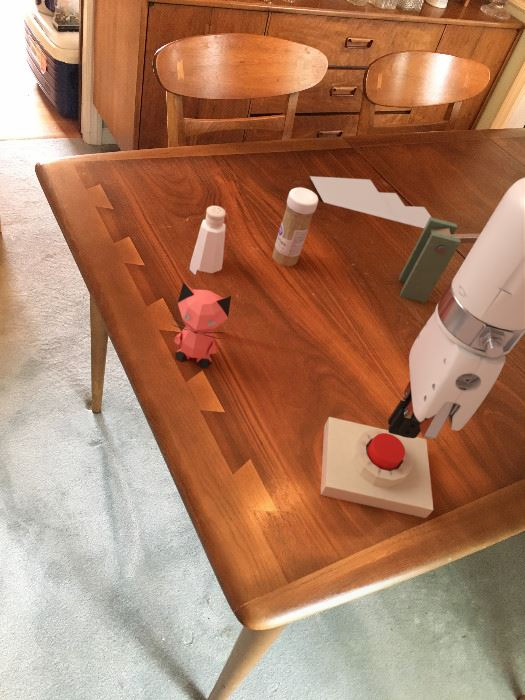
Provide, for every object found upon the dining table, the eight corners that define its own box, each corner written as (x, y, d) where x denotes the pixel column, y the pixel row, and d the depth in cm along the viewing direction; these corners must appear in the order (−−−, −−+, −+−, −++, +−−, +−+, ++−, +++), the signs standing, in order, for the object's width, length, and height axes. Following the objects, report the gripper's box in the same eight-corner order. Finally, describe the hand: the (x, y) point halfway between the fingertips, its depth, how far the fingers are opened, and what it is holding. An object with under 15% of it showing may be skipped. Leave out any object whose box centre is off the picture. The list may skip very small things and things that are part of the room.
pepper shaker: (212, 285, 85) (224, 226, 77) (182, 270, 86) (190, 210, 78) (228, 267, 89) (241, 209, 81) (199, 253, 90) (209, 194, 82)
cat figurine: (162, 365, 73) (170, 298, 64) (177, 329, 78) (186, 263, 69) (214, 379, 73) (229, 315, 64) (225, 343, 78) (241, 279, 69)
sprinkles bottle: (265, 257, 93) (284, 187, 83) (288, 254, 95) (310, 185, 85) (277, 275, 90) (298, 204, 81) (301, 271, 92) (324, 202, 83)
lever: (515, 233, 86) (518, 220, 85) (522, 254, 83) (526, 241, 81) (428, 235, 88) (429, 222, 87) (431, 256, 85) (432, 242, 83)
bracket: (439, 287, 98) (478, 222, 88) (444, 322, 91) (487, 256, 82) (374, 270, 97) (405, 203, 87) (375, 304, 91) (409, 236, 81)
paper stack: (407, 184, 120) (409, 181, 120) (462, 259, 105) (463, 256, 105) (308, 179, 113) (309, 176, 112) (351, 259, 97) (353, 256, 97)
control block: (419, 448, 73) (432, 431, 70) (425, 518, 66) (440, 503, 63) (324, 426, 72) (333, 408, 69) (320, 495, 65) (330, 478, 62)
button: (398, 444, 68) (404, 437, 66) (400, 473, 65) (406, 465, 64) (367, 437, 67) (372, 429, 66) (367, 465, 65) (372, 458, 63)
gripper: (540, 388, 44) (439, 496, 57) (506, 272, 55) (426, 387, 68) (451, 367, 44) (369, 481, 57) (433, 253, 54) (368, 372, 67)
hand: (400, 429), depth 62 cm, fingers closed
